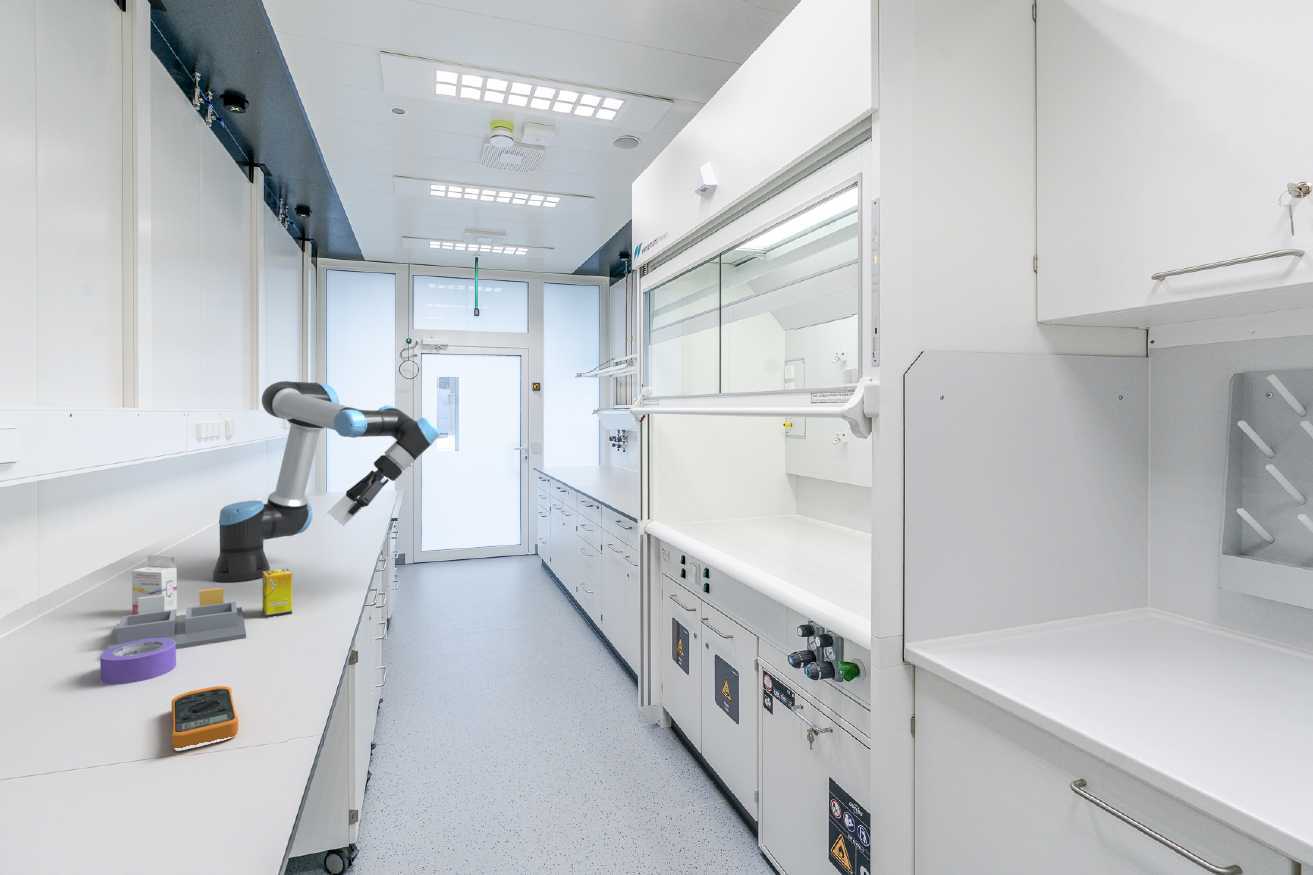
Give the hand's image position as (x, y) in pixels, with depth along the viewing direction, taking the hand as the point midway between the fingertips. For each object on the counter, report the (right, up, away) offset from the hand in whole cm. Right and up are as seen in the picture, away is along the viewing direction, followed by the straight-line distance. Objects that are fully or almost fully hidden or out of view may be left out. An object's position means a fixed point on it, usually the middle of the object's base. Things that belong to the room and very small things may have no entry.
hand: (335, 519), depth 172 cm
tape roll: (-17, -25, -45) cm, 54 cm away
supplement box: (-12, -24, -7) cm, 27 cm away
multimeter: (+11, -27, -66) cm, 72 cm away
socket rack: (-25, -24, -23) cm, 41 cm away
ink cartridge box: (-42, -23, -9) cm, 49 cm away
